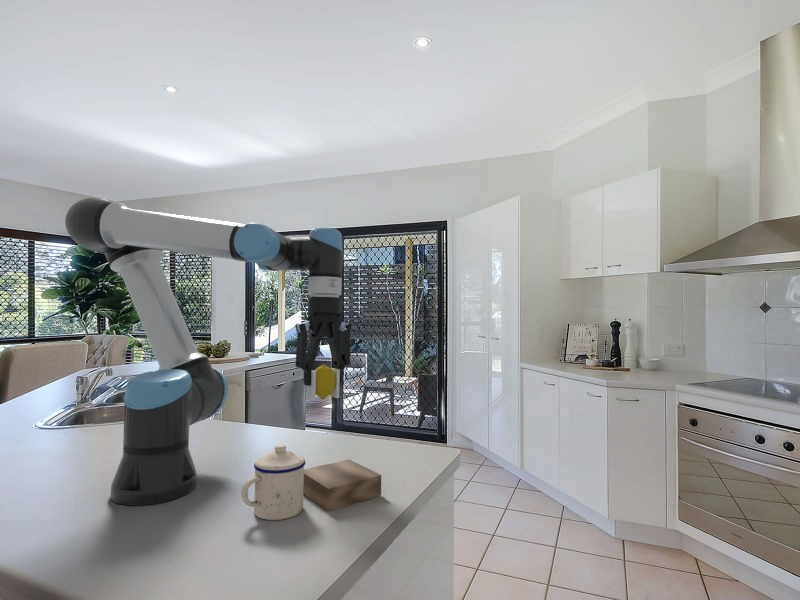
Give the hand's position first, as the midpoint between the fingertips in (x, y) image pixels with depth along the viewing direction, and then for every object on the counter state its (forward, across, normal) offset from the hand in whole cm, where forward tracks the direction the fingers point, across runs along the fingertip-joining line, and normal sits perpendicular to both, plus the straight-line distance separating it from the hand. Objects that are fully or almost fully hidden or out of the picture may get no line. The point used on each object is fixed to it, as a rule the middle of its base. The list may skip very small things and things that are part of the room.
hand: (322, 398), depth 101 cm
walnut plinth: (+17, -3, -12) cm, 21 cm away
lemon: (+1, 0, 0) cm, 1 cm away
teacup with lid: (+17, -17, -12) cm, 27 cm away
